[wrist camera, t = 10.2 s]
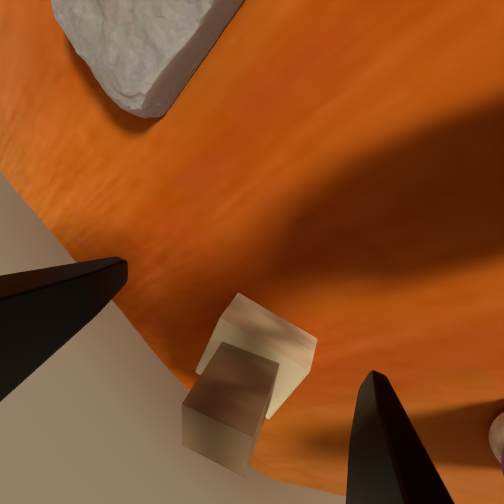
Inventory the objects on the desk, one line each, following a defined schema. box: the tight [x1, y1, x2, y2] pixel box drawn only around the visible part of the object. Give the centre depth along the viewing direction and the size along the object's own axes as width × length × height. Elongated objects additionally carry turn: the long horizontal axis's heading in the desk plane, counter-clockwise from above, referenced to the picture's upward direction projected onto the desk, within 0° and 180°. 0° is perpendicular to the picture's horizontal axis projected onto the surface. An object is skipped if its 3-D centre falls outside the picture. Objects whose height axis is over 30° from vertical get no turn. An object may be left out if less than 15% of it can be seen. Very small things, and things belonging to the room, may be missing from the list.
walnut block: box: [182, 341, 280, 477], centre depth 22 cm, size 5×5×6 cm
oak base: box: [195, 292, 317, 419], centre depth 26 cm, size 8×8×4 cm
